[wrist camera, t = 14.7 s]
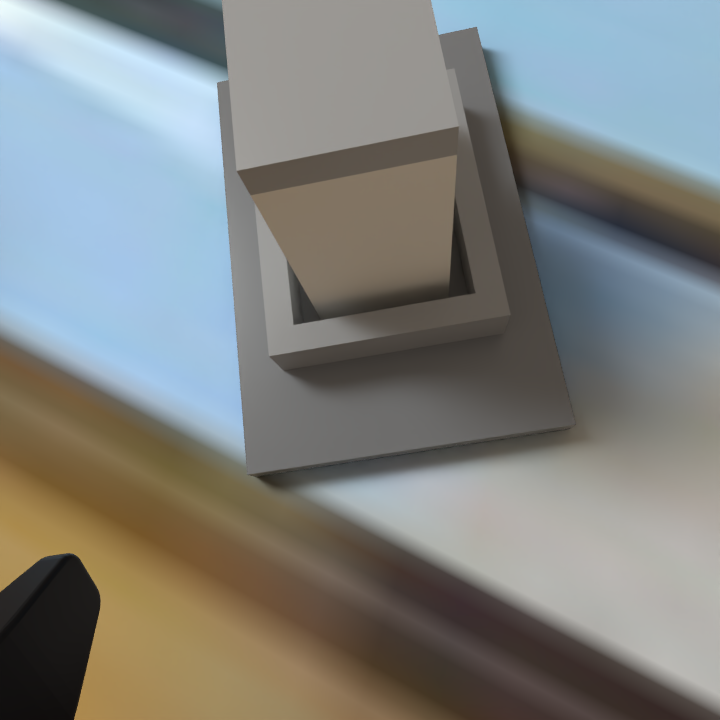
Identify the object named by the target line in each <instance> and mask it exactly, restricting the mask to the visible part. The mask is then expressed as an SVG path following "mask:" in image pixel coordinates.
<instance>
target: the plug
mask: <svg viewBox="0 0 720 720" xmlns="http://www.w3.org/2000/svg"><path fill="white" fill-rule="evenodd" d="M222 6H223V18H224V29H225V41H226V53H227V65H228V77H229V88H230V100H231V112H232V124H233V135H234V147H235V159H236V171H237V173H238V174H239V176H240V178H241V180H242V181H243V183H244V185H245V187H246V188H247V190H248V192H249V194H250V195H251V197H252V199H253V201H254V202H255V204H256V206H257V208H258V210H259V211H260V213H261V215H262V217H263V218H264V220H265V222H266V224H267V225H268V227H269V229H270V231H271V232H272V234H273V236H274V238H275V239H276V241H277V243H278V245H279V246H280V248H281V250H282V252H283V253H284V255H285V257H286V259H287V260H288V262H289V264H290V266H291V268H292V269H293V271H294V273H295V275H296V276H297V278H298V280H299V282H300V283H301V285H302V287H303V289H304V290H305V292H306V294H307V296H308V297H309V299H310V301H311V303H312V304H313V306H314V308H315V310H316V311H317V313H318V315H319V317H320V318H321V320H325V319H331V318H337V317H342V316H348V315H354V314H360V313H365V312H371V311H377V310H382V309H388V308H394V307H400V306H405V305H411V304H417V303H422V302H428V301H434V300H439V299H445V298H449V281H450V264H451V248H452V231H453V215H454V198H455V181H456V165H457V148H458V132H459V125H458V120H457V116H456V111H455V107H454V102H453V98H452V94H451V89H450V85H449V80H448V76H447V71H446V67H445V62H444V58H443V53H442V49H441V44H440V40H439V35H438V31H437V26H436V22H435V17H434V13H433V8H432V4H431V0H222Z"/></svg>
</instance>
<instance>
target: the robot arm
mask: <svg viewBox="0 0 720 720" xmlns="http://www.w3.org/2000/svg"><path fill="white" fill-rule="evenodd" d="M99 611H100V594H99V591H98V589H97V587H96V585H95V584H94V582H93V580H92V579H91V577H90V575H89V574H88V572H87V570H86V569H85V567H84V565H83V564H82V562H81V560H80V559H79V558H78V557H77V556H76V555H74V554H70V553H67V554H60V555H53V556H47V557H44V558H42V559H40V560H39V561H38V562H36V563H35V564H34V565H33V566H32V567H30V568H29V569H28V570H27V571H26V572H24V573H23V574H22V575H21V576H19V577H18V578H17V579H16V580H15V581H13V582H12V583H11V584H10V585H8V586H7V587H6V588H5V589H4V590H2V591H1V592H0V720H74V717H75V713H76V710H77V706H78V702H79V698H80V694H81V689H82V685H83V680H84V676H85V672H86V667H87V663H88V659H89V654H90V650H91V646H92V641H93V637H94V633H95V628H96V624H97V620H98V615H99Z"/></svg>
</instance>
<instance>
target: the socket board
mask: <svg viewBox="0 0 720 720" xmlns="http://www.w3.org/2000/svg"><path fill="white" fill-rule="evenodd" d="M439 40H440V44H441V49H442V53H443V58H444V62H445V67H446V71H447V76H448V80H449V85H450V89H451V94H452V98H453V102H454V107H455V111H456V116H457V120H458V125H459V132H458V148H457V165H456V181H455V198H454V215H453V231H452V248H451V264H450V281H449V298H445V299H439V300H434V301H428V302H422V303H417V304H411V305H405V306H400V307H394V308H388V309H382V310H377V311H371V312H365V313H360V314H354V315H348V316H342V317H337V318H331V319H325V320H321V318H320V317H319V315H318V313H317V311H316V310H315V308H314V306H313V304H312V303H311V301H310V299H309V297H308V296H307V294H306V292H305V290H304V289H303V287H302V285H301V283H300V282H299V280H298V278H297V276H296V275H295V273H294V271H293V269H292V268H291V266H290V264H289V262H288V260H287V259H286V257H285V255H284V253H283V252H282V250H281V248H280V246H279V245H278V243H277V241H276V239H275V238H274V236H273V234H272V232H271V231H270V229H269V227H268V225H267V224H266V222H265V220H264V218H263V217H262V215H261V213H260V211H259V210H258V208H257V206H256V204H255V202H254V201H253V199H252V197H251V195H250V194H249V192H248V190H247V188H246V187H245V185H244V183H243V181H242V180H241V178H240V176H239V174H238V173H237V171H236V159H235V147H234V135H233V124H232V112H231V100H230V88H229V80H227V81H222V82H218V83H217V88H218V101H219V114H220V127H221V140H222V153H223V166H224V179H225V192H226V205H227V218H228V231H229V244H230V257H231V270H232V283H233V296H234V309H235V322H236V335H237V348H238V361H239V374H240V387H241V400H242V413H243V426H244V439H245V452H246V465H247V475H251V476H255V477H257V476H263V475H270V474H276V473H283V472H289V471H296V470H302V469H309V468H316V467H322V466H329V465H335V464H342V463H348V462H355V461H361V460H368V459H375V458H381V457H388V456H394V455H401V454H407V453H414V452H420V451H427V450H433V449H440V448H447V447H453V446H460V445H466V444H473V443H479V442H486V441H492V440H499V439H505V438H512V437H519V436H525V435H532V434H538V433H545V432H551V431H558V430H564V429H570V428H571V427H573V426H574V425H576V423H575V419H574V415H573V411H572V407H571V403H570V399H569V395H568V391H567V387H566V383H565V379H564V375H563V371H562V367H561V363H560V359H559V355H558V351H557V347H556V343H555V339H554V335H553V331H552V327H551V323H550V319H549V315H548V311H547V307H546V303H545V299H544V295H543V291H542V287H541V283H540V279H539V275H538V271H537V267H536V263H535V259H534V255H533V251H532V247H531V243H530V239H529V235H528V231H527V227H526V223H525V219H524V215H523V211H522V207H521V203H520V199H519V195H518V191H517V187H516V183H515V179H514V175H513V171H512V167H511V162H510V158H509V154H508V150H507V146H506V142H505V138H504V134H503V130H502V126H501V122H500V118H499V114H498V110H497V106H496V102H495V98H494V94H493V90H492V86H491V82H490V78H489V74H488V70H487V66H486V62H485V58H484V54H483V50H482V46H481V42H480V38H479V34H478V30H477V27H474V28H469V29H465V30H460V31H455V32H451V33H446V34H441V35H439Z"/></svg>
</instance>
